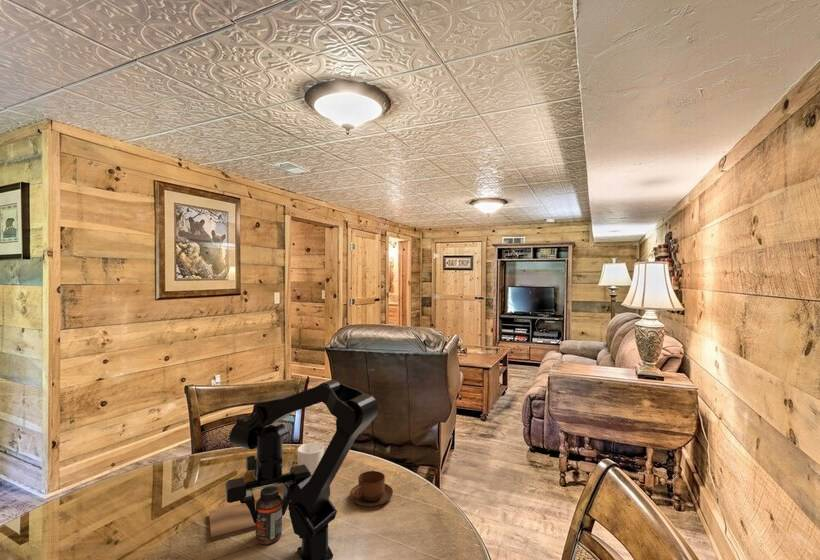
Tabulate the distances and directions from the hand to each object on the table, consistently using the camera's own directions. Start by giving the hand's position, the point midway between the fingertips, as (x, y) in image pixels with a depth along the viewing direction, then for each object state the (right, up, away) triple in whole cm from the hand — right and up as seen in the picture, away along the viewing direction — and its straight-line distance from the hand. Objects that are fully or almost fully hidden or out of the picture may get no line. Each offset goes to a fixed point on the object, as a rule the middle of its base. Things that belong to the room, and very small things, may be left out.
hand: (269, 518), depth 95 cm
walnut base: (-11, -5, +7) cm, 13 cm away
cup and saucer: (+23, -5, +18) cm, 29 cm away
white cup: (+3, -5, +28) cm, 28 cm away
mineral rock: (-12, -5, +32) cm, 35 cm away
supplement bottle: (0, -5, 0) cm, 5 cm away
